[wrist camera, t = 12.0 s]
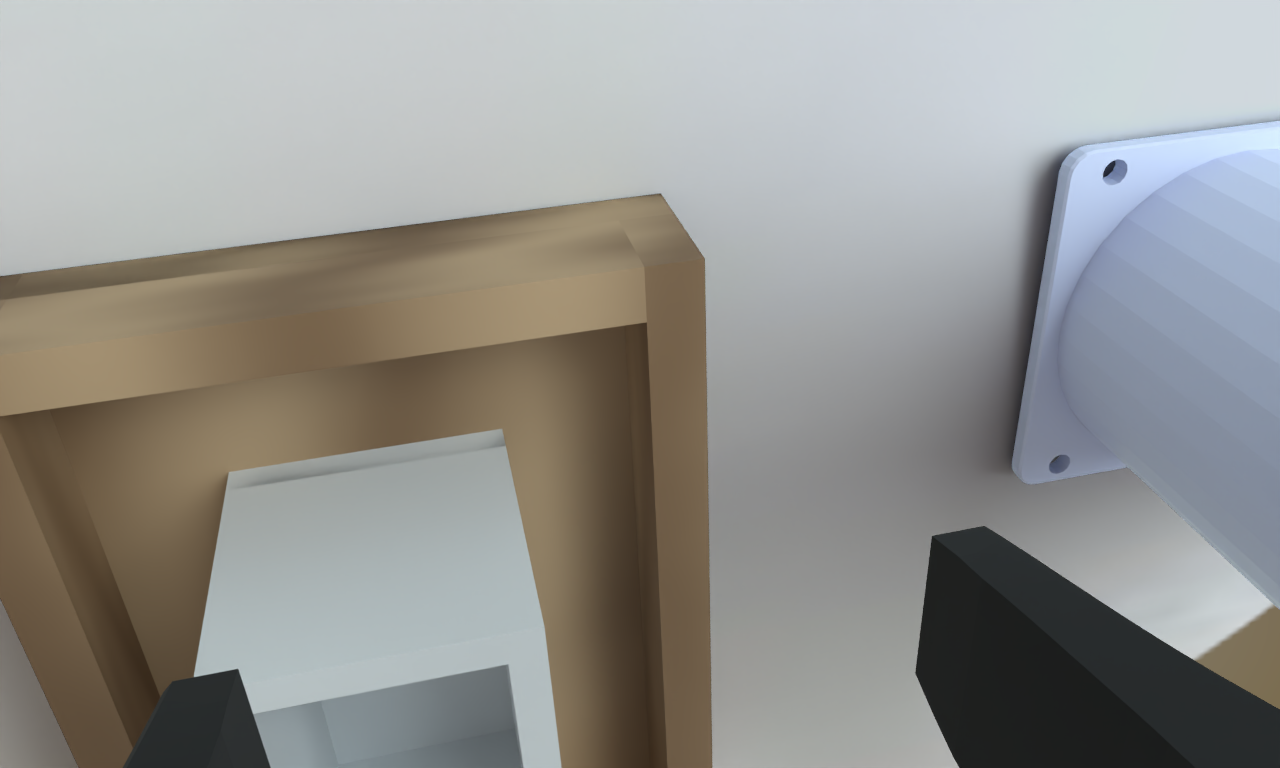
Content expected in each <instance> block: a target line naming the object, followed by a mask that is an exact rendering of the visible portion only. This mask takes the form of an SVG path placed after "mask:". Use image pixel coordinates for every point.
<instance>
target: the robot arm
mask: <svg viewBox="0 0 1280 768" xmlns="http://www.w3.org/2000/svg"><path fill="white" fill-rule="evenodd" d="M1114 160H1115V163H1116V164H1115V167H1114V169H1113V171H1112V172H1111V173H1110V174H1109V175H1108V176H1107V177H1104V178H1103V172H1104V170H1105V167H1106V166H1107V165H1108V164H1109V163H1110V162H1112V161H1114ZM1059 455H1060V456H1059ZM1057 456H1059V458H1058V459H1057V460H1056V461H1054V462H1053V463H1051V461H1052V460H1053V459H1054V458H1055V457H1057ZM1122 468H1129V469H1130V470H1131V471H1133V472H1134V473H1135V474H1136V475H1137V476H1138V477H1139V478H1140V479H1141V480H1142V481H1143V482H1144V483H1145V484H1146V485H1147V486H1148V487H1150V488H1151V489H1152V490H1153V491H1154V492H1155V493H1156V494H1157V495H1158V496H1159V497H1160V498H1161V499H1162V500H1163V501H1164V502H1166V503H1167V504H1168V505H1169V506H1170V507H1171V508H1172V509H1173V510H1174V511H1175V512H1176V513H1177V514H1178V515H1179V516H1180V517H1182V518H1183V519H1184V520H1185V521H1186V522H1187V523H1188V524H1189V525H1190V526H1191V527H1192V528H1193V529H1194V530H1195V531H1196V532H1197V533H1199V534H1200V535H1201V536H1202V537H1203V538H1204V539H1205V540H1206V541H1207V542H1208V543H1209V544H1210V545H1211V546H1212V547H1213V548H1215V549H1216V550H1217V551H1218V552H1219V553H1220V554H1221V555H1222V556H1223V557H1224V558H1225V559H1226V560H1227V561H1228V562H1229V563H1230V564H1232V565H1233V566H1234V567H1235V568H1236V569H1237V570H1238V571H1239V572H1240V573H1241V574H1242V575H1243V576H1244V577H1245V578H1246V579H1248V580H1249V581H1250V582H1251V583H1252V584H1253V585H1254V586H1255V587H1256V588H1257V589H1258V590H1259V591H1260V592H1261V593H1262V594H1263V595H1265V596H1266V597H1267V598H1268V599H1269V600H1270V601H1271V602H1272V603H1273V604H1274V605H1275V606H1276V607H1277V608H1279V610H1280V121H1273V122H1265V123H1257V124H1249V125H1241V126H1234V127H1226V128H1218V129H1210V130H1202V131H1194V132H1186V133H1178V134H1170V135H1162V136H1154V137H1146V138H1139V139H1131V140H1123V141H1115V142H1107V143H1099V144H1091V145H1085V146H1082V147H1079V148H1076V149H1075V150H1074V151H1072V152H1071V153H1070V154H1069V155H1068V156H1067V157H1066V159H1065V160H1064V161H1063V163H1062V165H1061V168H1060V171H1059V175H1058V182H1057V188H1056V194H1055V200H1054V206H1053V212H1052V218H1051V225H1050V231H1049V237H1048V243H1047V249H1046V255H1045V262H1044V268H1043V274H1042V280H1041V286H1040V292H1039V299H1038V305H1037V311H1036V317H1035V323H1034V329H1033V335H1032V342H1031V348H1030V354H1029V360H1028V366H1027V372H1026V379H1025V385H1024V391H1023V397H1022V403H1021V409H1020V416H1019V422H1018V428H1017V434H1016V440H1015V446H1014V452H1013V459H1012V470H1013V471H1014V473H1015V474H1016V475H1017V476H1018V478H1019V479H1020V480H1021V481H1022V482H1024V483H1026V484H1040V483H1045V482H1051V481H1056V480H1062V479H1067V478H1073V477H1078V476H1084V475H1089V474H1095V473H1100V472H1106V471H1111V470H1117V469H1122ZM916 676H917V678H918V680H919V682H920V685H921V687H922V689H923V692H924V694H925V696H926V698H927V701H928V703H929V705H930V708H931V710H932V712H933V714H934V717H935V719H936V721H937V723H938V725H939V728H940V730H941V732H942V734H943V736H944V738H945V740H946V742H947V744H948V747H949V749H950V751H951V753H952V755H953V757H954V759H955V761H956V762H957V764H958V766H959V768H1280V709H1278V708H1276V707H1274V706H1272V705H1271V704H1269V703H1267V702H1265V701H1264V700H1262V699H1260V698H1258V697H1257V696H1255V695H1253V694H1251V693H1250V692H1248V691H1246V690H1244V689H1242V688H1241V687H1239V686H1237V685H1235V684H1234V683H1232V682H1230V681H1228V680H1227V679H1225V678H1223V677H1221V676H1220V675H1218V674H1216V673H1214V672H1213V671H1211V670H1209V669H1208V668H1206V667H1204V666H1203V665H1201V664H1199V663H1197V662H1196V661H1194V660H1193V659H1191V658H1189V657H1188V656H1186V655H1184V654H1183V653H1181V652H1179V651H1178V650H1176V649H1174V648H1173V647H1171V646H1170V645H1168V644H1166V643H1165V642H1163V641H1162V640H1160V639H1158V638H1157V637H1155V636H1154V635H1152V634H1150V633H1149V632H1147V631H1146V630H1144V629H1142V628H1141V627H1139V626H1138V625H1136V624H1135V623H1133V622H1131V621H1130V620H1128V619H1127V618H1125V617H1124V616H1122V615H1120V614H1119V613H1117V612H1116V611H1114V610H1113V609H1111V608H1110V607H1108V606H1107V605H1105V604H1103V603H1102V602H1100V601H1099V600H1097V599H1096V598H1094V597H1093V596H1091V595H1090V594H1088V593H1087V592H1085V591H1084V590H1082V589H1081V588H1079V587H1078V586H1076V585H1075V584H1073V583H1072V582H1070V581H1068V580H1067V579H1065V578H1064V577H1062V576H1061V575H1059V574H1058V573H1056V572H1055V571H1053V570H1052V569H1050V568H1049V567H1047V566H1046V565H1044V564H1043V563H1041V562H1040V561H1038V560H1037V559H1035V558H1034V557H1032V556H1031V555H1029V554H1028V553H1026V552H1025V551H1023V550H1022V549H1020V548H1018V547H1017V546H1015V545H1014V544H1012V543H1011V542H1009V541H1008V540H1006V539H1005V538H1003V537H1001V536H1000V535H998V534H996V533H995V532H993V531H992V530H990V529H988V528H987V527H985V526H982V527H977V528H971V529H966V530H961V531H956V532H951V533H945V534H940V535H935V536H932V541H931V549H930V557H929V565H928V574H927V582H926V590H925V598H924V607H923V615H922V623H921V631H920V640H919V648H918V656H917V664H916ZM123 768H271V767H270V764H269V761H268V758H267V755H266V752H265V749H264V746H263V743H262V740H261V736H260V733H259V730H258V727H257V724H256V721H255V718H254V715H253V712H252V709H251V706H250V703H249V700H248V697H247V694H246V691H245V688H244V685H243V682H242V679H241V676H240V672H239V669H234V670H229V671H224V672H218V673H213V674H208V675H203V676H197V677H192V678H187V679H182V680H177V681H172V682H171V684H170V685H169V686H168V687H167V688H166V690H165V691H164V692H163V694H162V695H161V697H160V699H159V701H158V703H157V705H156V707H155V709H154V711H153V713H152V714H151V716H150V718H149V720H148V722H147V724H146V726H145V727H144V729H143V731H142V733H141V735H140V737H139V739H138V741H137V742H136V744H135V746H134V748H133V750H132V752H131V753H130V755H129V757H128V759H127V761H126V762H125V764H124V766H123Z"/></svg>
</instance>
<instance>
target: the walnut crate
mask: <svg viewBox="0 0 1280 768" xmlns="http://www.w3.org/2000/svg"><path fill="white" fill-rule="evenodd" d="M497 429H502V431H503V435H504V440H505V445H506V450H507V454H508V459H509V464H510V468H511V473H512V478H513V482H514V487H515V492H516V496H517V501H518V506H519V510H520V515H521V520H522V524H523V529H524V534H525V538H526V543H527V548H528V552H529V557H530V562H531V566H532V571H533V576H534V580H535V585H536V590H537V594H538V599H539V604H540V608H541V613H542V618H543V622H544V627H545V635H546V644H547V652H548V660H549V668H550V676H551V685H552V693H553V701H554V709H555V718H556V726H557V734H558V742H559V751H560V759H561V767H562V768H712V721H711V653H710V584H709V516H708V448H707V379H706V311H705V258H704V257H703V255H702V254H701V252H700V251H699V249H698V248H697V247H696V245H695V244H694V242H693V241H692V239H691V238H690V236H689V235H688V233H687V232H686V230H685V229H684V227H683V226H682V224H681V223H680V221H679V220H678V218H677V217H676V215H675V214H674V212H673V211H672V210H671V208H670V207H669V205H668V204H667V202H666V201H665V199H664V198H663V196H662V195H661V194H654V195H646V196H638V197H630V198H622V199H614V200H606V201H598V202H590V203H582V204H574V205H566V206H558V207H550V208H542V209H534V210H526V211H518V212H510V213H502V214H495V215H487V216H479V217H471V218H463V219H455V220H447V221H439V222H431V223H423V224H415V225H407V226H399V227H391V228H383V229H375V230H367V231H359V232H351V233H343V234H335V235H327V236H319V237H311V238H303V239H295V240H287V241H279V242H271V243H263V244H255V245H247V246H239V247H232V248H224V249H216V250H208V251H200V252H192V253H184V254H176V255H168V256H160V257H152V258H144V259H136V260H128V261H120V262H112V263H104V264H96V265H88V266H80V267H72V268H64V269H56V270H48V271H40V272H32V273H24V274H16V275H8V276H0V599H1V601H2V603H3V605H4V607H5V609H6V612H7V614H8V616H9V618H10V620H11V622H12V625H13V627H14V629H15V631H16V633H17V635H18V638H19V640H20V642H21V644H22V646H23V648H24V651H25V653H26V655H27V657H28V659H29V661H30V663H31V666H32V668H33V670H34V672H35V674H36V676H37V679H38V681H39V683H40V685H41V687H42V689H43V692H44V694H45V696H46V698H47V700H48V702H49V705H50V707H51V709H52V711H53V713H54V715H55V717H56V720H57V722H58V724H59V726H60V728H61V730H62V733H63V735H64V737H65V739H66V741H67V743H68V746H69V748H70V750H71V752H72V754H73V756H74V759H75V761H76V763H77V765H78V767H79V768H123V766H124V764H125V762H126V761H127V759H128V757H129V755H130V753H131V752H132V750H133V748H134V746H135V744H136V742H137V741H138V739H139V737H140V735H141V733H142V731H143V729H144V727H145V726H146V724H147V722H148V720H149V718H150V716H151V714H152V713H153V711H154V709H155V707H156V705H157V703H158V701H159V699H160V697H161V695H162V694H163V692H164V691H165V690H166V688H167V687H168V686H169V685H170V684H171V682H172V681H177V680H182V679H187V678H192V677H194V672H195V666H196V660H197V654H198V649H199V643H200V637H201V631H202V625H203V619H204V614H205V608H206V602H207V596H208V590H209V585H210V579H211V573H212V567H213V561H214V556H215V550H216V544H217V538H218V532H219V527H220V521H221V515H222V509H223V503H224V498H225V492H226V486H227V480H228V474H229V472H233V471H239V470H245V469H251V468H258V467H264V466H270V465H277V464H283V463H289V462H296V461H302V460H308V459H314V458H321V457H327V456H333V455H340V454H346V453H352V452H359V451H365V450H371V449H377V448H384V447H390V446H396V445H403V444H409V443H415V442H422V441H428V440H434V439H440V438H447V437H453V436H459V435H466V434H472V433H478V432H485V431H491V430H497Z"/></svg>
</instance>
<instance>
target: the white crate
mask: <svg viewBox="0 0 1280 768" xmlns="http://www.w3.org/2000/svg"><path fill="white" fill-rule="evenodd" d="M234 669H239V672H240V676H241V679H242V682H243V685H244V688H245V691H246V694H247V697H248V700H249V703H250V706H251V709H252V712H253V715H254V718H255V721H256V724H257V727H258V730H259V733H260V736H261V740H262V743H263V746H264V749H265V752H266V755H267V758H268V761H269V764H270V767H271V768H562V767H561V759H560V751H559V742H558V734H557V726H556V718H555V709H554V701H553V693H552V685H551V676H550V668H549V660H548V652H547V644H546V635H545V627H544V622H543V618H542V613H541V608H540V604H539V599H538V594H537V590H536V585H535V580H534V576H533V571H532V566H531V562H530V557H529V552H528V548H527V543H526V538H525V534H524V529H523V524H522V520H521V515H520V510H519V506H518V501H517V496H516V492H515V487H514V482H513V478H512V473H511V468H510V464H509V459H508V454H507V450H506V445H505V440H504V435H503V431H502V429H497V430H491V431H485V432H478V433H472V434H466V435H459V436H453V437H447V438H440V439H434V440H428V441H422V442H415V443H409V444H403V445H396V446H390V447H384V448H377V449H371V450H365V451H359V452H352V453H346V454H340V455H333V456H327V457H321V458H314V459H308V460H302V461H296V462H289V463H283V464H277V465H270V466H264V467H258V468H251V469H245V470H239V471H233V472H229V474H228V480H227V486H226V492H225V498H224V503H223V509H222V515H221V521H220V527H219V532H218V538H217V544H216V550H215V556H214V561H213V567H212V573H211V579H210V585H209V590H208V596H207V602H206V608H205V614H204V619H203V625H202V631H201V637H200V643H199V649H198V654H197V660H196V666H195V672H194V677H197V676H203V675H208V674H213V673H218V672H224V671H229V670H234Z"/></svg>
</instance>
